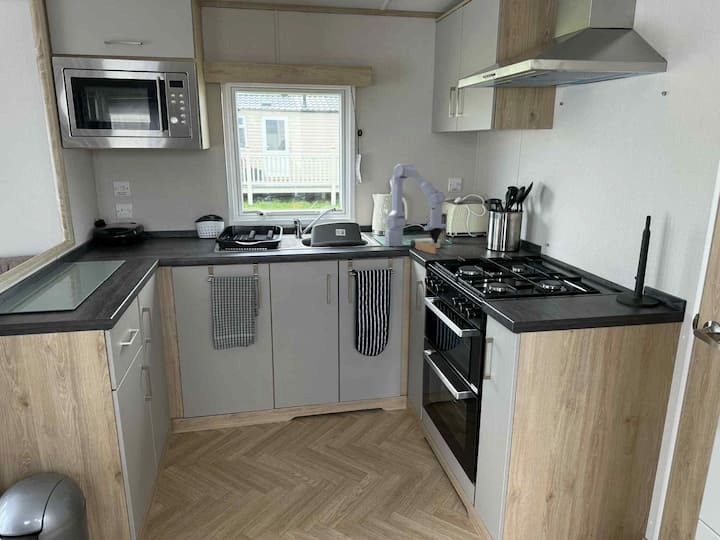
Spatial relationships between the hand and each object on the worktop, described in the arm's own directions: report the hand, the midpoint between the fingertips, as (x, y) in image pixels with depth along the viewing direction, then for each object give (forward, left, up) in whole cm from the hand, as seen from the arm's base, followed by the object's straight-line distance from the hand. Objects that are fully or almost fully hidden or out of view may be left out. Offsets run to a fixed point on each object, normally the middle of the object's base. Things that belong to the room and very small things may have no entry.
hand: (434, 243), depth 260 cm
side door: (-3, +4, -5) cm, 7 cm away
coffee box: (+16, +27, -5) cm, 32 cm away
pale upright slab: (+2, +15, -5) cm, 16 cm away
